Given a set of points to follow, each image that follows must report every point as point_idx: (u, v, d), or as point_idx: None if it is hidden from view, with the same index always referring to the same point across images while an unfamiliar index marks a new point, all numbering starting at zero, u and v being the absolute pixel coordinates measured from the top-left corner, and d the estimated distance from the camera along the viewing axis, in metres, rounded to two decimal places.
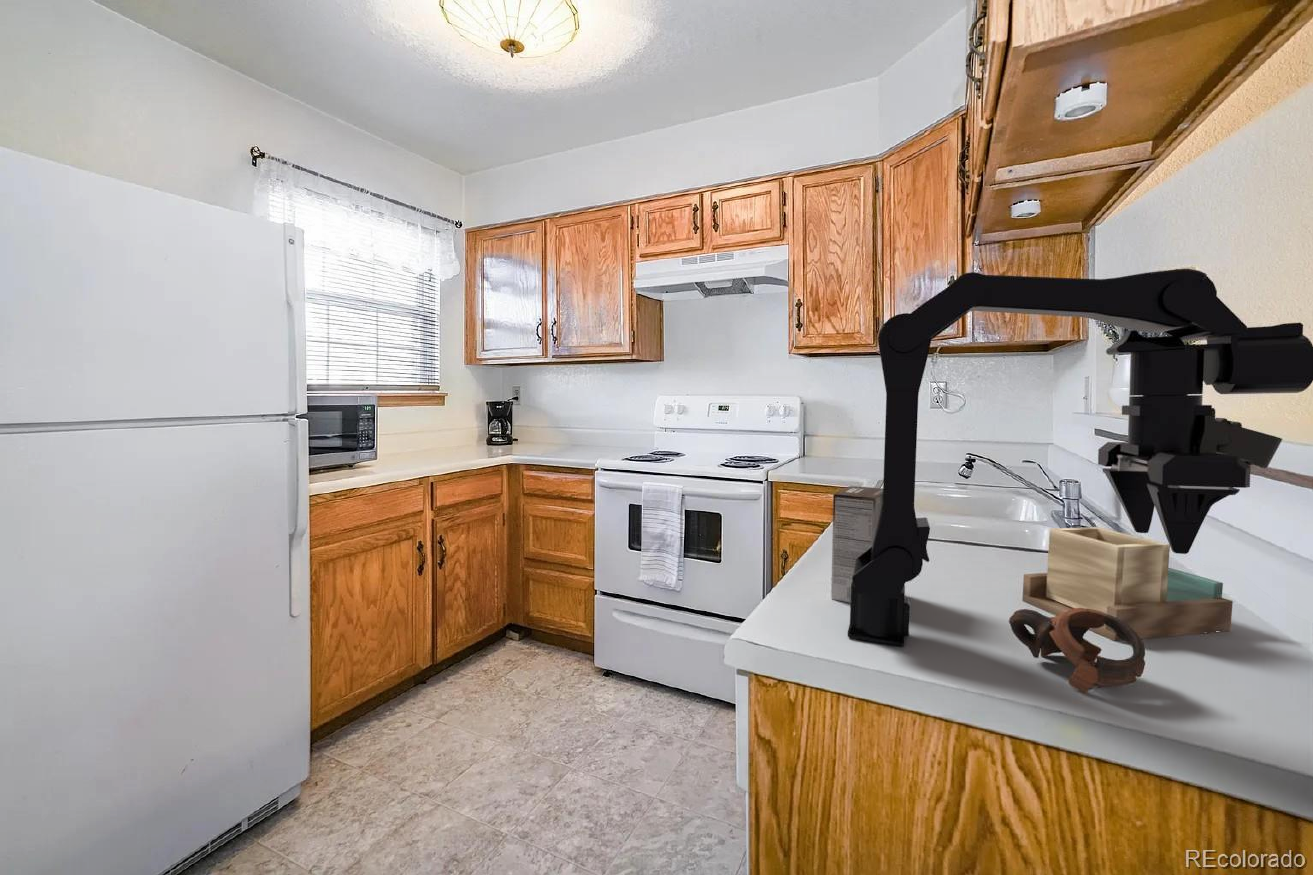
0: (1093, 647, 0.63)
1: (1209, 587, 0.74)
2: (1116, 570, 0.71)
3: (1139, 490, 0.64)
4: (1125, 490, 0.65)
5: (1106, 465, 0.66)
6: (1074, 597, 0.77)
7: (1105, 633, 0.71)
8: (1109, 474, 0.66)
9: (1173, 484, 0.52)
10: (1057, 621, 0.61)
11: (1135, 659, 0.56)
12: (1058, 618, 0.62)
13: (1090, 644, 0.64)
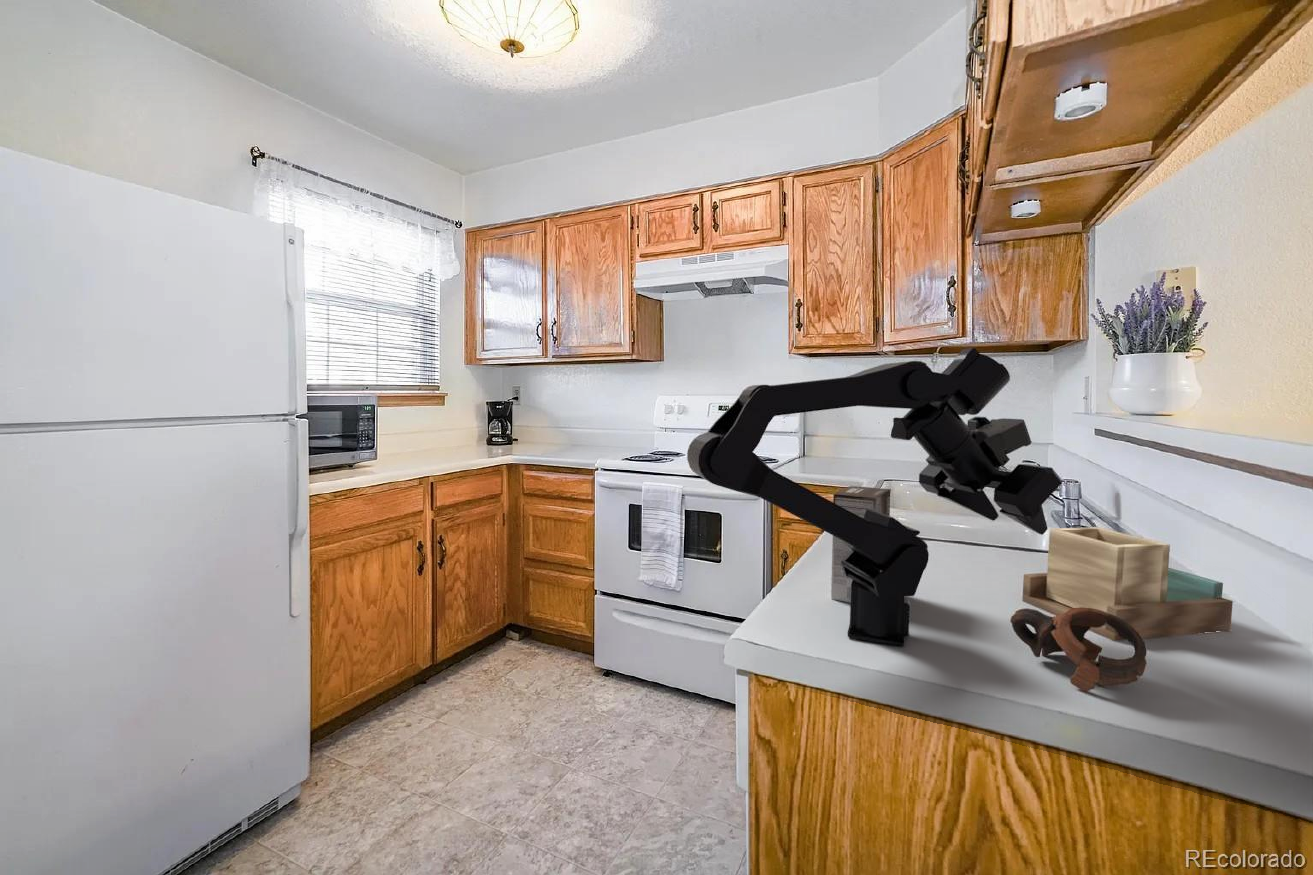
0: (1094, 646, 0.64)
1: (1209, 587, 0.74)
2: (1116, 570, 0.71)
3: (972, 495, 0.77)
4: (966, 501, 0.77)
5: (938, 493, 0.78)
6: (1074, 597, 0.77)
7: (1105, 633, 0.71)
8: (949, 499, 0.77)
9: (1032, 513, 0.63)
10: (1059, 620, 0.61)
11: (1137, 658, 0.56)
12: (1059, 617, 0.62)
13: (1091, 643, 0.64)
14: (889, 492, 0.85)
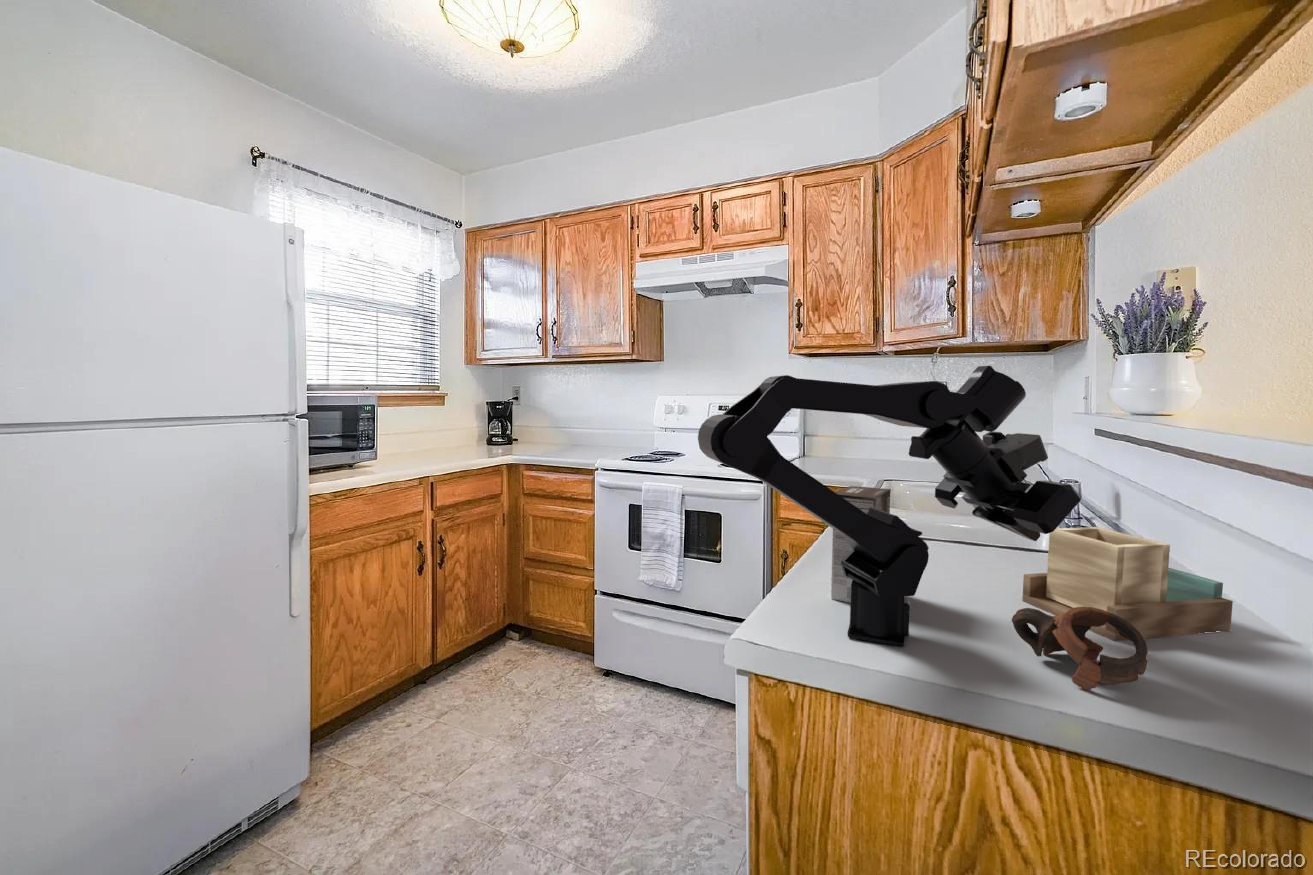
0: (1095, 645, 0.64)
1: (1209, 587, 0.74)
2: (1116, 570, 0.71)
3: None
4: None
5: (955, 507, 0.79)
6: (1074, 597, 0.77)
7: (1105, 633, 0.71)
8: (986, 519, 0.74)
9: (1052, 530, 0.64)
10: (1060, 620, 0.62)
11: (1138, 657, 0.56)
12: (1061, 617, 0.62)
13: (1092, 642, 0.64)
14: (889, 492, 0.85)
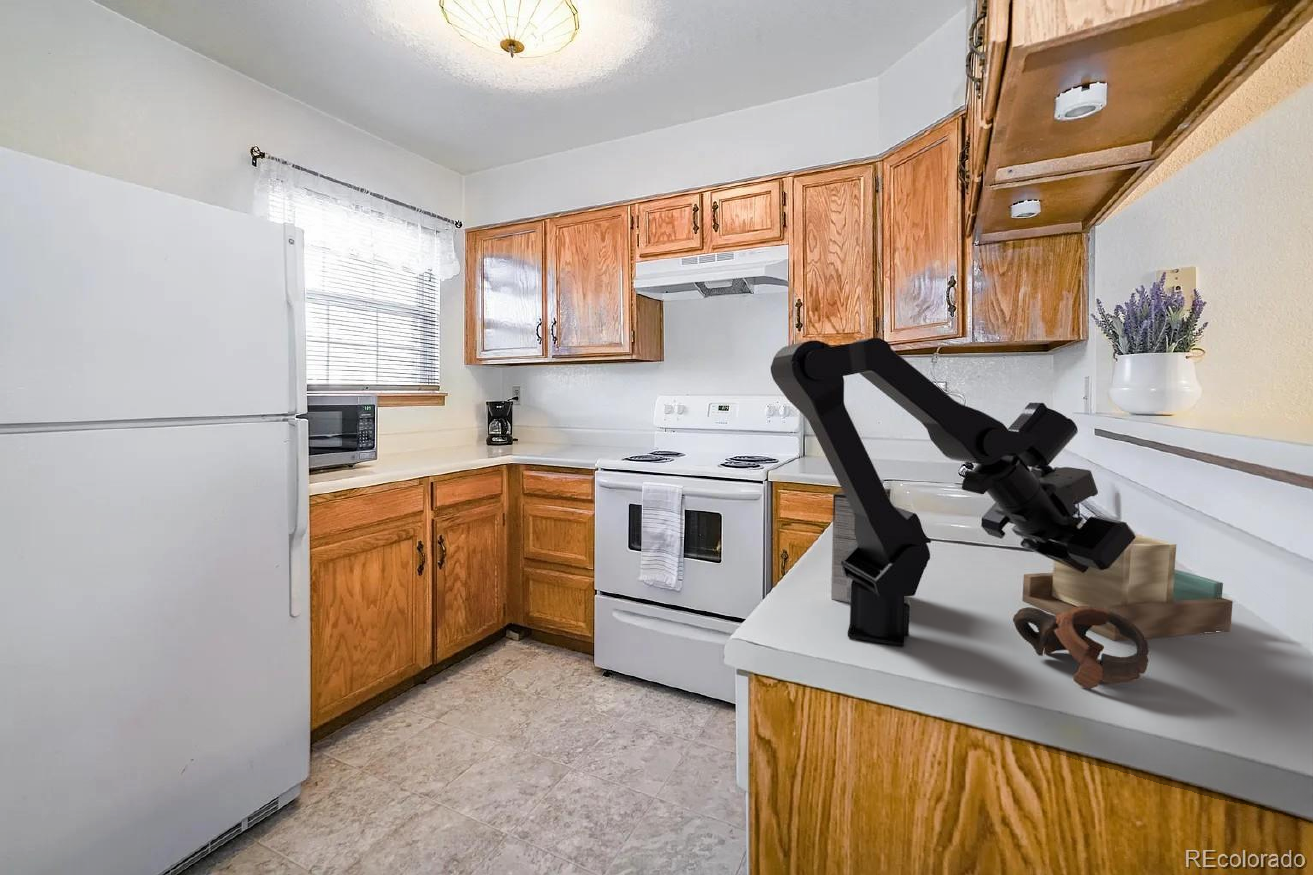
0: (1096, 644, 0.64)
1: (1209, 587, 0.74)
2: (1123, 570, 0.71)
3: None
4: None
5: (1002, 537, 0.81)
6: (1080, 597, 0.77)
7: (1105, 633, 0.71)
8: (1036, 551, 0.76)
9: (1108, 567, 0.66)
10: (1061, 619, 0.62)
11: (1139, 656, 0.56)
12: (1062, 616, 0.62)
13: (1093, 641, 0.64)
14: (889, 492, 0.85)
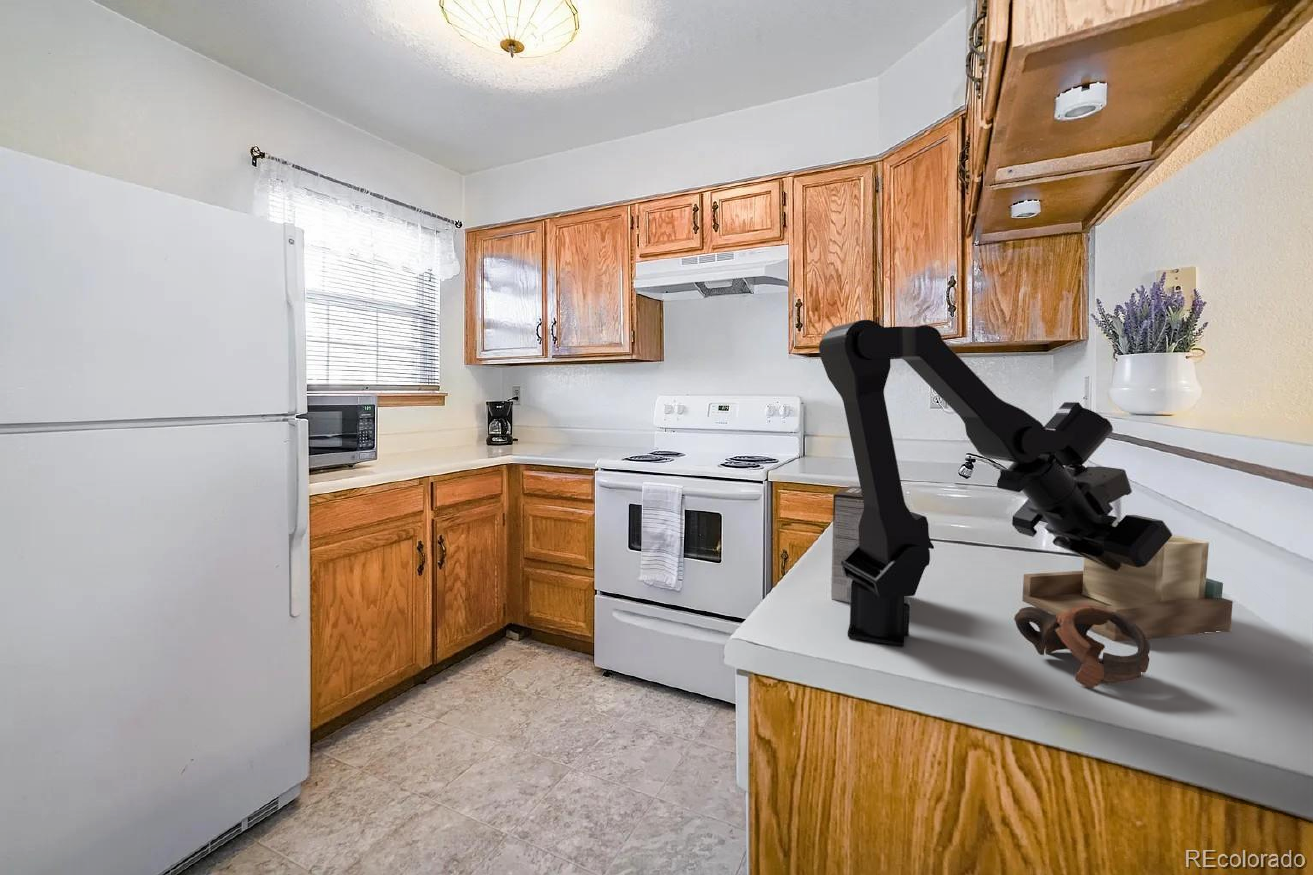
0: (1097, 644, 0.64)
1: (1209, 587, 0.74)
2: (1157, 568, 0.72)
3: None
4: None
5: (1033, 536, 0.82)
6: (1112, 594, 0.78)
7: (1105, 633, 0.71)
8: (1069, 549, 0.77)
9: (1145, 564, 0.67)
10: (1062, 618, 0.62)
11: (1140, 655, 0.57)
12: (1063, 615, 0.62)
13: (1094, 641, 0.65)
14: None
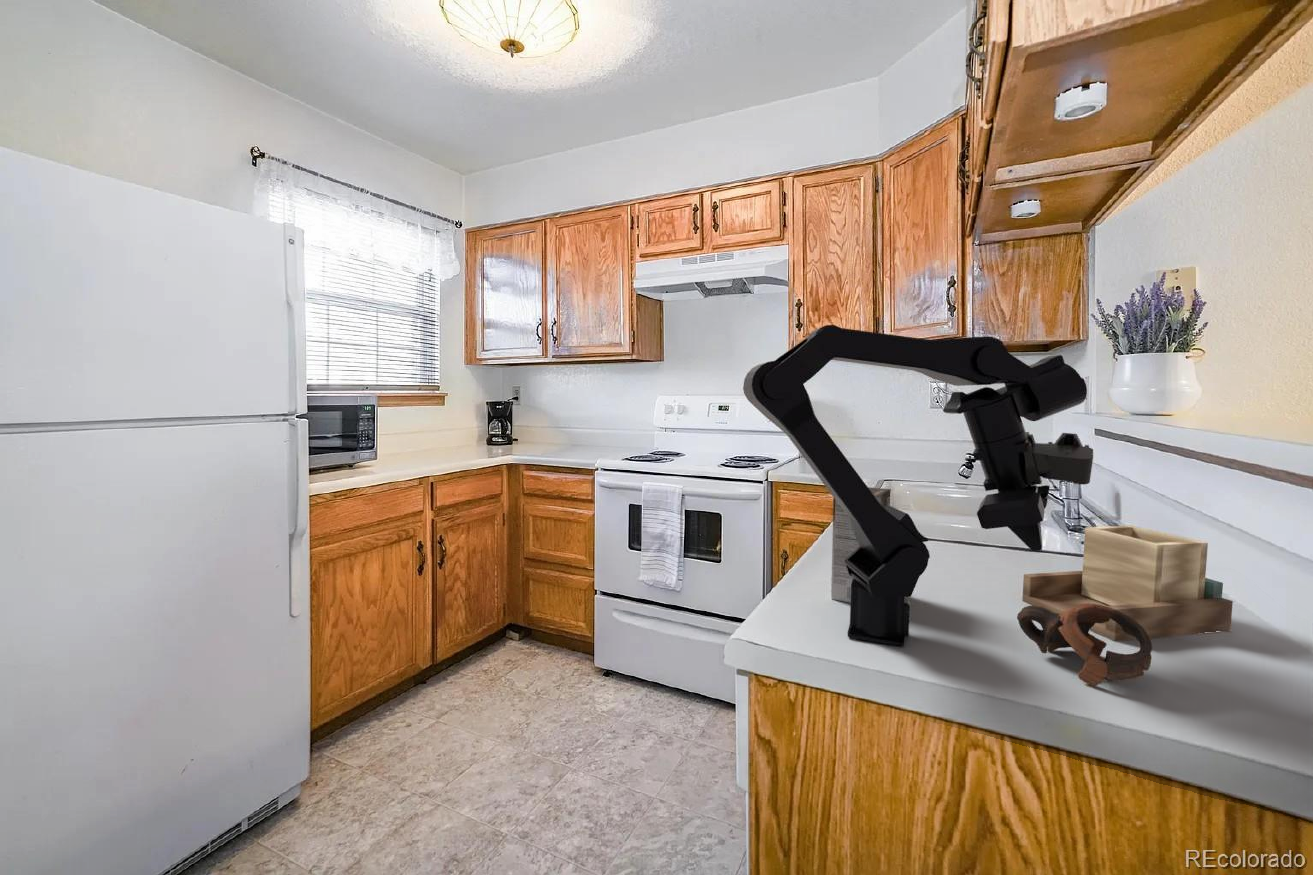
0: (1098, 642, 0.65)
1: (1209, 587, 0.74)
2: (1156, 568, 0.72)
3: None
4: None
5: None
6: (1111, 594, 0.78)
7: (1105, 633, 0.71)
8: None
9: (986, 528, 0.65)
10: (1065, 617, 0.62)
11: (1143, 653, 0.57)
12: (1066, 614, 0.63)
13: (1095, 639, 0.65)
14: (889, 492, 0.85)
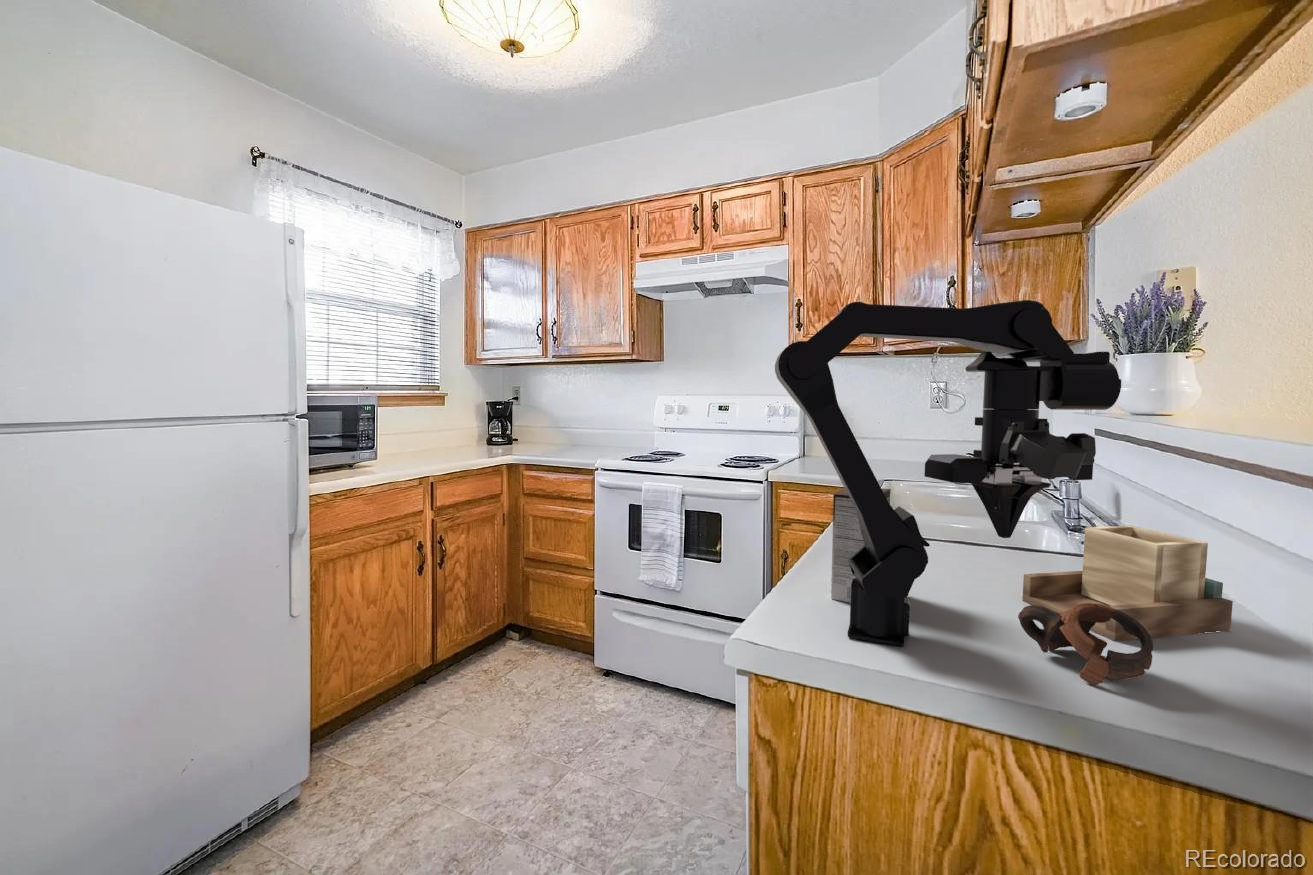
0: (1099, 641, 0.65)
1: (1209, 587, 0.74)
2: (1156, 568, 0.72)
3: None
4: None
5: None
6: (1111, 594, 0.78)
7: (1105, 633, 0.71)
8: None
9: (924, 475, 0.69)
10: (1066, 616, 0.63)
11: (1144, 652, 0.57)
12: (1067, 613, 0.63)
13: (1096, 638, 0.65)
14: (889, 492, 0.85)
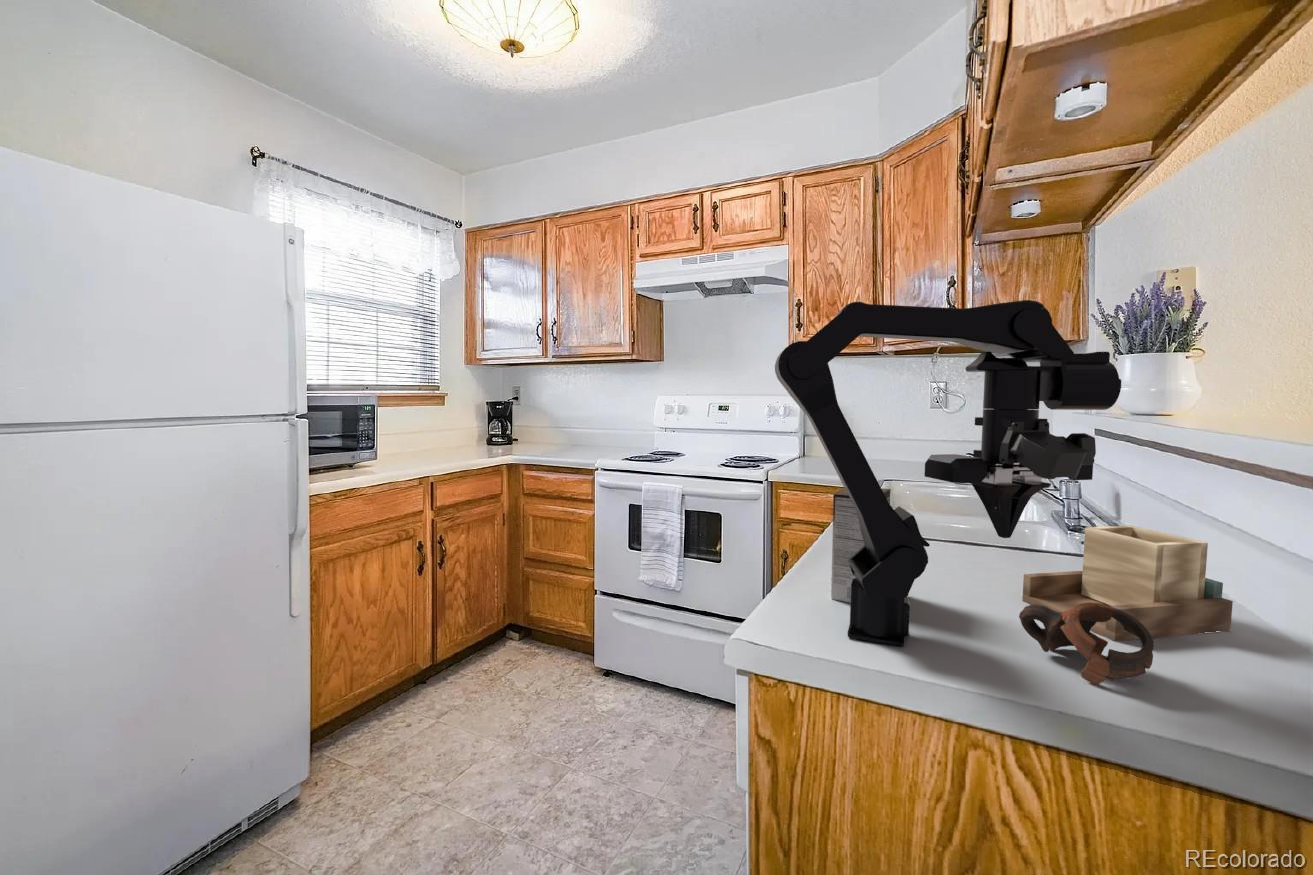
0: (1100, 640, 0.65)
1: (1209, 587, 0.74)
2: (1156, 568, 0.72)
3: None
4: None
5: None
6: (1111, 594, 0.78)
7: (1105, 633, 0.71)
8: None
9: (924, 475, 0.69)
10: (1067, 616, 0.63)
11: (1145, 651, 0.57)
12: (1068, 613, 0.63)
13: (1097, 637, 0.65)
14: (889, 492, 0.85)
